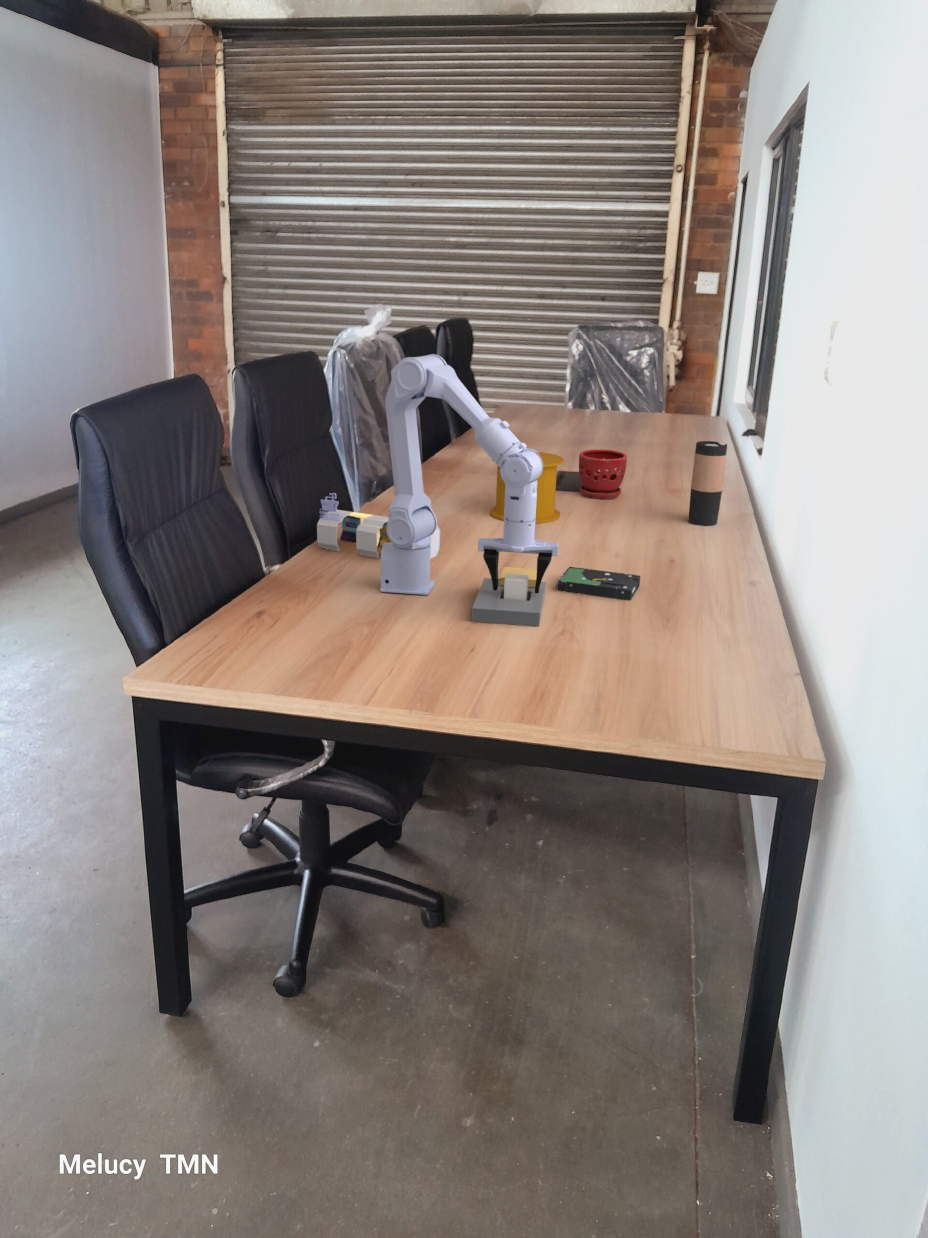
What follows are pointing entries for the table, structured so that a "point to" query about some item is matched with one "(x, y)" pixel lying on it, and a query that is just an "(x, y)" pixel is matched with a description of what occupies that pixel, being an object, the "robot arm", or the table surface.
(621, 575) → the disk drive
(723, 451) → the travel mug
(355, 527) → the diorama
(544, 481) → the spool
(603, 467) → the plant pot
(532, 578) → the yellow flat square block
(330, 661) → the table surface
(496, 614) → the socket plate
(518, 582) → the plug
